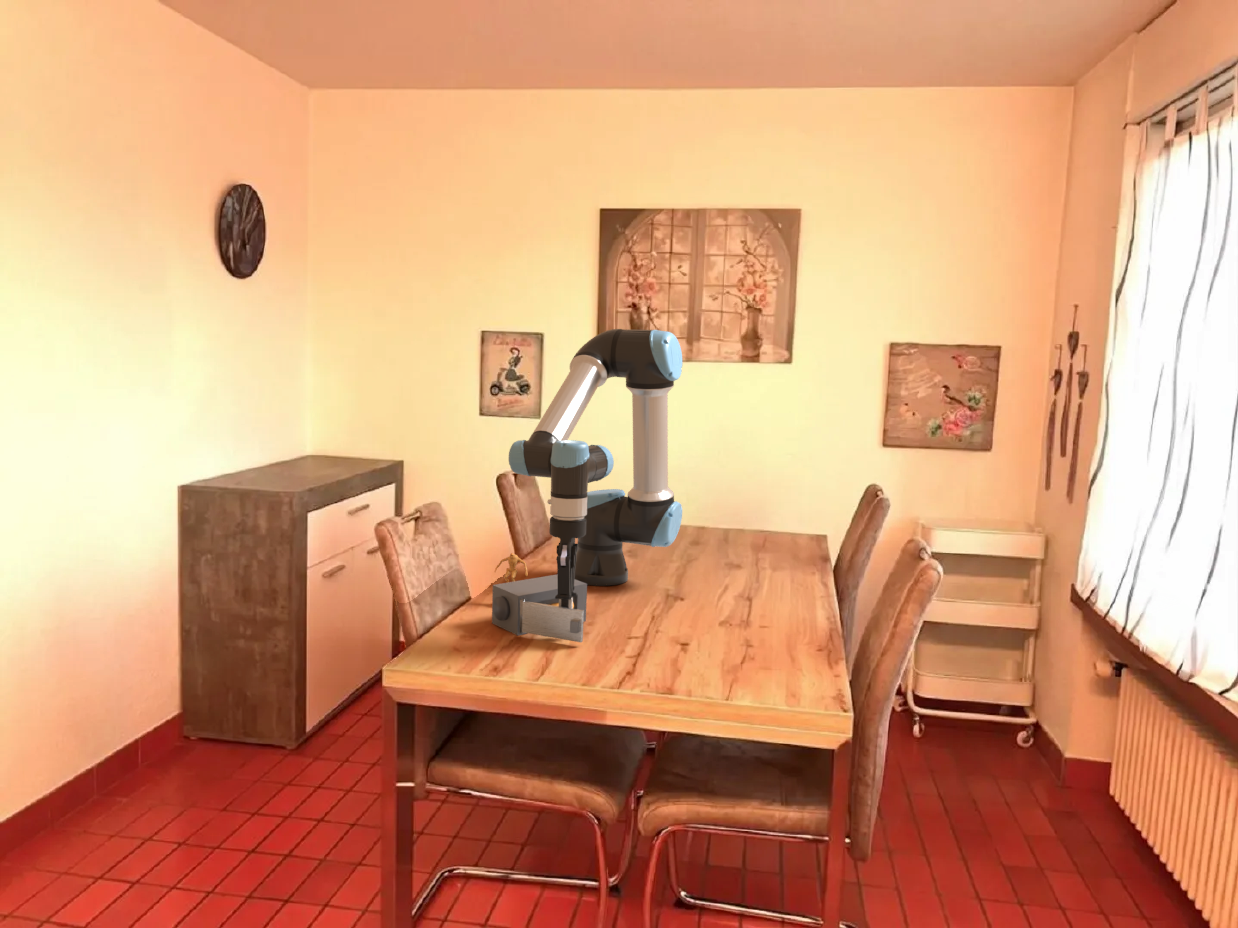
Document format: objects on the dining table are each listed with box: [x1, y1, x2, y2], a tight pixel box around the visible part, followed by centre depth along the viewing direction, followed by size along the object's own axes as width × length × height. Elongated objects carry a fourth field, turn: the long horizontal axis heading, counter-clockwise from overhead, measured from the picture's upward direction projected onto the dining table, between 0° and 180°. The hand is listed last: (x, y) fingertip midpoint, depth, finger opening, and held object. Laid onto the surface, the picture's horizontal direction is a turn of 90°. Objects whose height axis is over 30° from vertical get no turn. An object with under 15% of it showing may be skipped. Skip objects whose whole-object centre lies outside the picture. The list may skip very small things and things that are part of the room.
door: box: [519, 599, 584, 643], centre depth 191 cm, size 14×2×7 cm, turn 68°
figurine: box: [494, 552, 528, 583], centre depth 216 cm, size 8×6×12 cm
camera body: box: [491, 574, 588, 636], centre depth 203 cm, size 19×10×8 cm, turn 130°
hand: (564, 628), depth 193 cm, fingers closed
